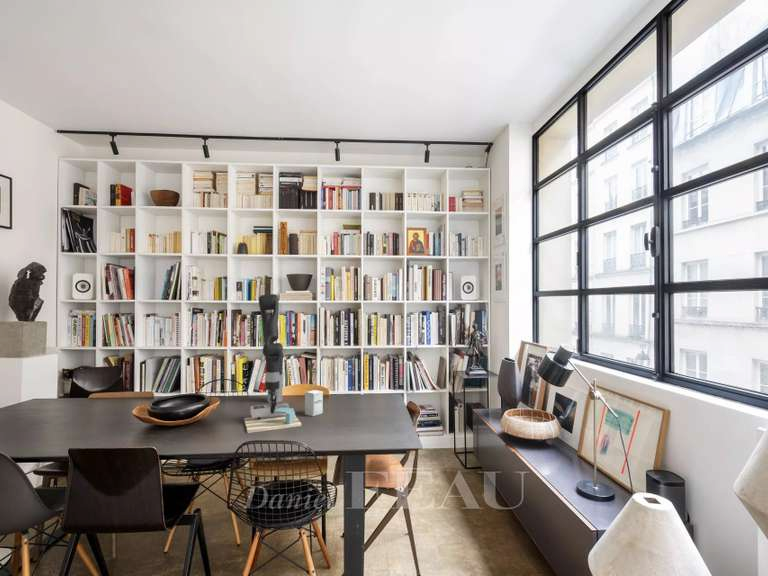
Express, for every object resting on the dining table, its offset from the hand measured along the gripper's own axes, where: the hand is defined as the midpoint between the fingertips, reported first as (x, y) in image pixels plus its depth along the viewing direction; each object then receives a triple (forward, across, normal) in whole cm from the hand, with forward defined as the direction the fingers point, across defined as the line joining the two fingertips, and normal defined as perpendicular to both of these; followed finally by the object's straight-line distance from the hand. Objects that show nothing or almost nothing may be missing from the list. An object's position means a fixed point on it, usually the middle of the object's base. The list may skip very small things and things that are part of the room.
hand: (272, 411), depth 205 cm
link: (+1, 0, -1) cm, 1 cm away
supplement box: (+4, -1, +23) cm, 24 cm away
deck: (+4, +6, -1) cm, 8 cm away
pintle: (+4, 0, -7) cm, 8 cm away
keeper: (+4, +10, +4) cm, 12 cm away
